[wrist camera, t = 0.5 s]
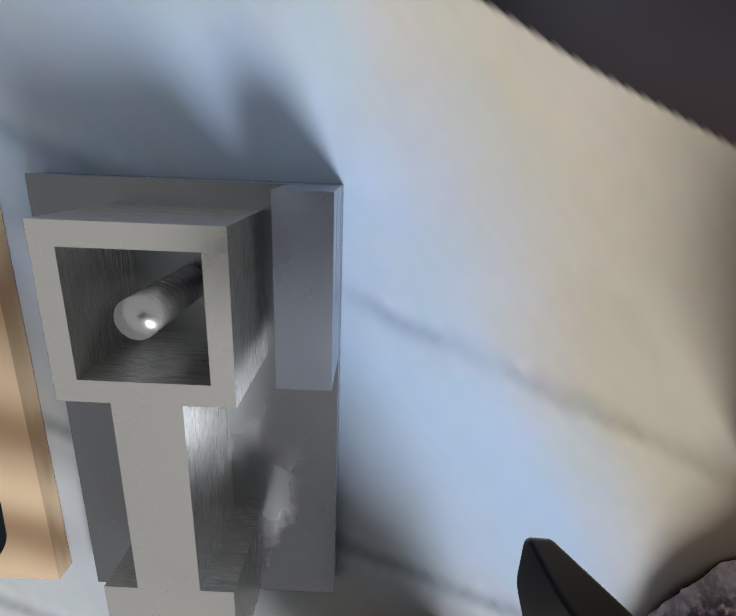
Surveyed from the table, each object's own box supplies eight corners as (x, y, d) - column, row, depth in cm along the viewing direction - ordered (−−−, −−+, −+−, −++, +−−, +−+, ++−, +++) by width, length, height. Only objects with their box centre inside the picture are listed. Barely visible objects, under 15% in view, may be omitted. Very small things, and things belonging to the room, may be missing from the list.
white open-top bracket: (274, 574, 24) (250, 667, 19) (155, 569, 24) (105, 660, 19) (262, 209, 18) (226, 226, 14) (106, 203, 18) (22, 218, 14)
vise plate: (335, 576, 25) (323, 688, 20) (109, 565, 25) (37, 674, 20) (343, 184, 19) (329, 195, 13) (42, 172, 19) (-88, 179, 13)
